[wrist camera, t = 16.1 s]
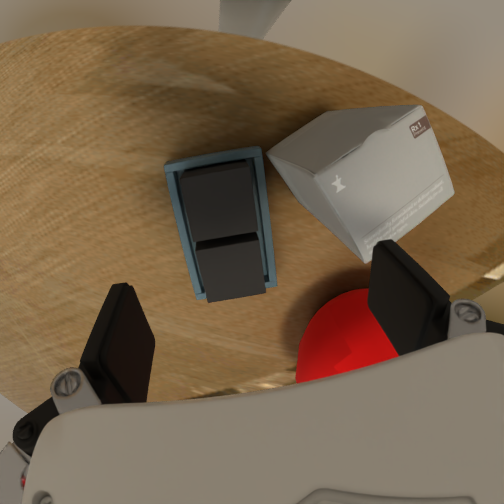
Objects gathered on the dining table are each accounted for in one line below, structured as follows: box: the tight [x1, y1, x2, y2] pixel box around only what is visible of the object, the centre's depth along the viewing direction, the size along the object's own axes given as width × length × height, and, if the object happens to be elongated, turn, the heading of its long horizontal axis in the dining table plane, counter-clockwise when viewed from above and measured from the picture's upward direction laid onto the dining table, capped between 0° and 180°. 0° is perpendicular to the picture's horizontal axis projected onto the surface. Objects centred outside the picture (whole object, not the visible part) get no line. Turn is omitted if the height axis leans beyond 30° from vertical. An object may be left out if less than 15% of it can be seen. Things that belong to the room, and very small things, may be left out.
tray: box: [164, 146, 277, 300], centre depth 30 cm, size 15×9×2 cm, turn 8°
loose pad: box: [179, 159, 258, 242], centre depth 27 cm, size 6×6×4 cm
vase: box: [296, 289, 399, 383], centre depth 26 cm, size 18×18×30 cm
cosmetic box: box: [266, 105, 455, 263], centre depth 21 cm, size 8×7×16 cm
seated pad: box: [195, 232, 266, 303], centre depth 30 cm, size 6×6×4 cm
